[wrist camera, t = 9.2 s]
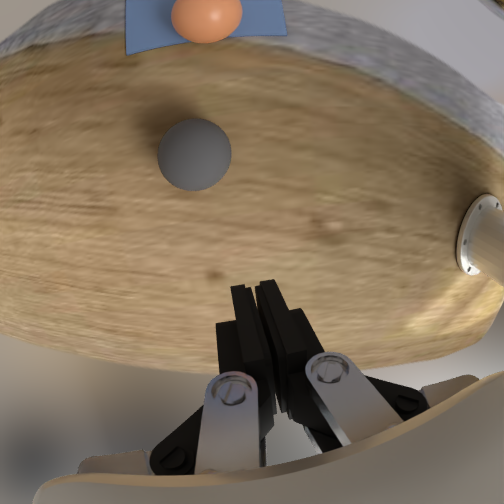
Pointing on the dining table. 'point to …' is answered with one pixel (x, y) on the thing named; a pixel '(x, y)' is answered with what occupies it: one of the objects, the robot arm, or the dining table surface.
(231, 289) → the robot arm
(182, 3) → the object ball
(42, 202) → the dining table surface
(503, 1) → the potato
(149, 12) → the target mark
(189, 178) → the dark gray ball
